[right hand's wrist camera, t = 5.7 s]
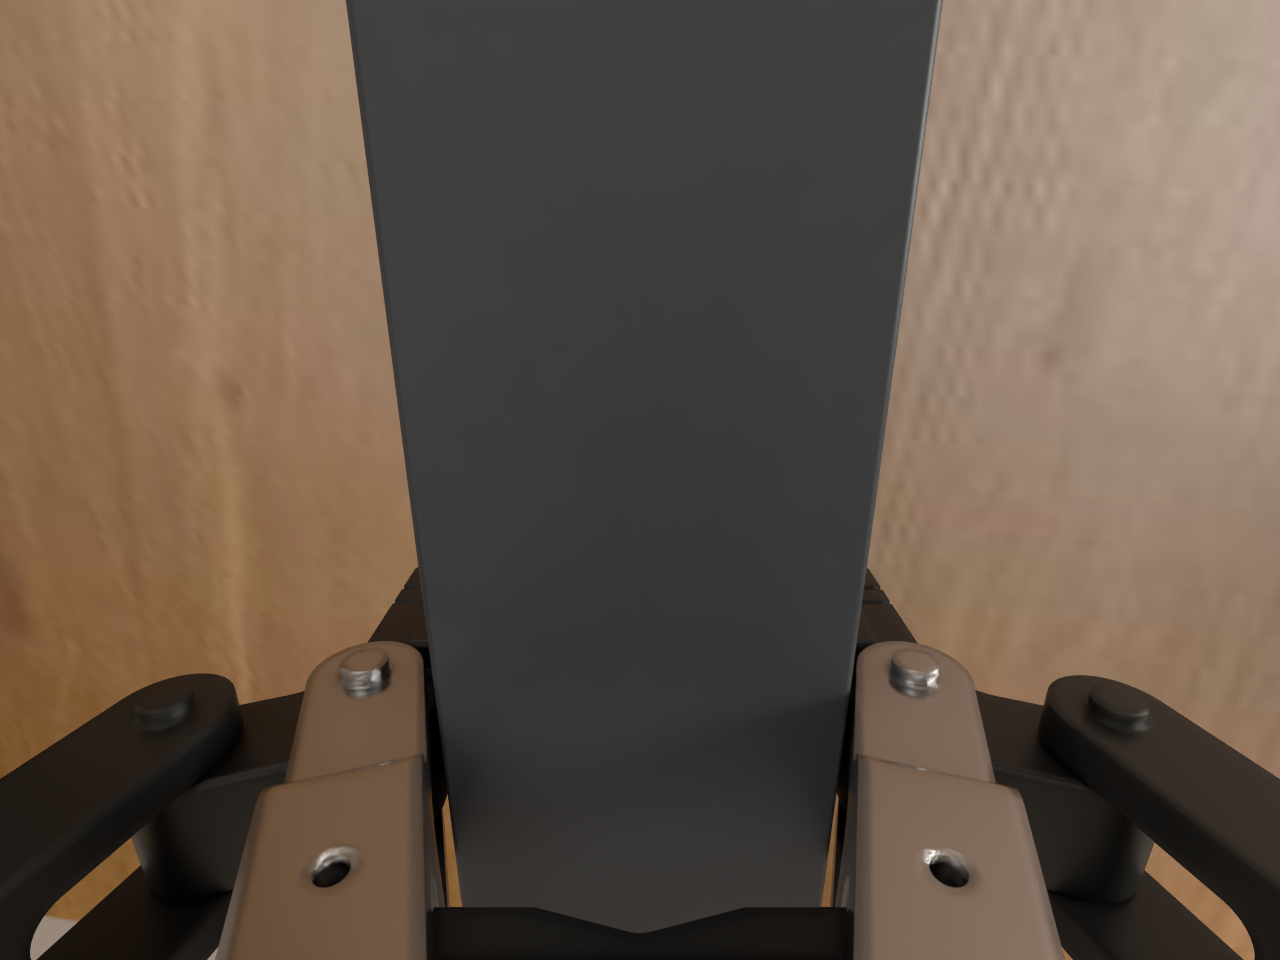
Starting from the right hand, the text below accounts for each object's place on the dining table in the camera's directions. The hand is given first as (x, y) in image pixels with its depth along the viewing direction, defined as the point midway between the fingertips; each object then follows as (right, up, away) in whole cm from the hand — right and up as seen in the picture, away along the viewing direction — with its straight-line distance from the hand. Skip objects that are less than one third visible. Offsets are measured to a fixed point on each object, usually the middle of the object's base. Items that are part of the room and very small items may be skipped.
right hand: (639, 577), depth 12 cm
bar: (0, +26, -6) cm, 27 cm away
